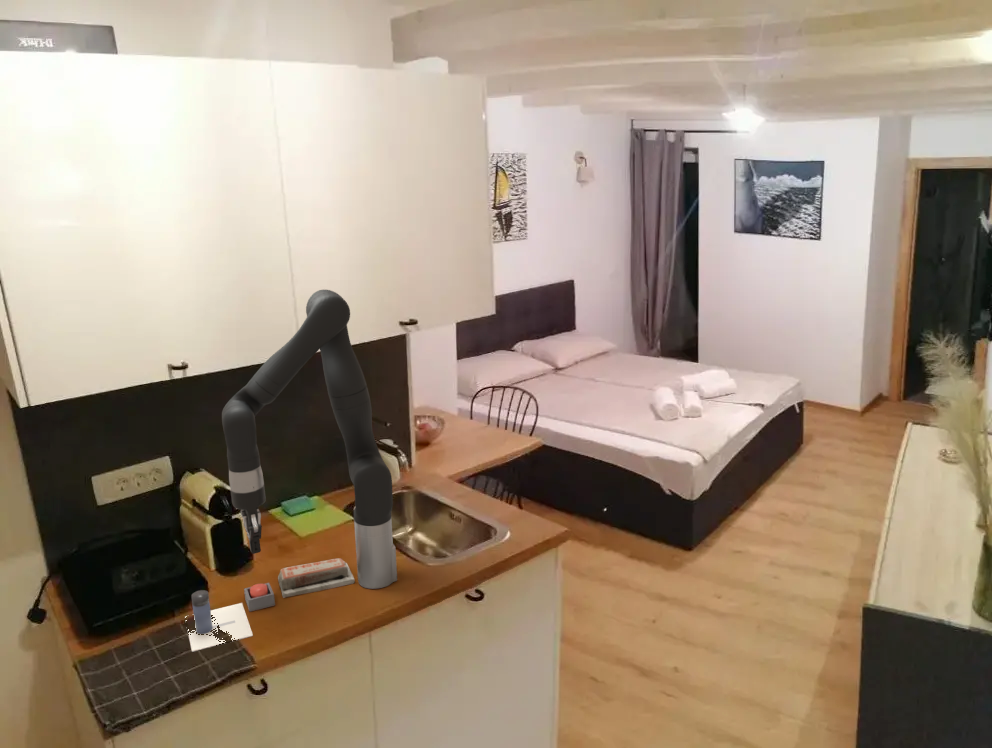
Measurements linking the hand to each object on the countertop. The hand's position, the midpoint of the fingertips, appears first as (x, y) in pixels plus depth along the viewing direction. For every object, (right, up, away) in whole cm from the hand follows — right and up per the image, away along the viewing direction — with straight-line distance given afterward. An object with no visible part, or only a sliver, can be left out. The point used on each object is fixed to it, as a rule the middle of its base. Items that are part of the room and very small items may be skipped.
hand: (255, 551), depth 187 cm
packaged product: (+12, -11, +13) cm, 21 cm away
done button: (0, -12, +3) cm, 13 cm away
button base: (0, -13, +4) cm, 14 cm away
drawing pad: (-7, -16, -6) cm, 18 cm away
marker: (-9, -16, -7) cm, 20 cm away
